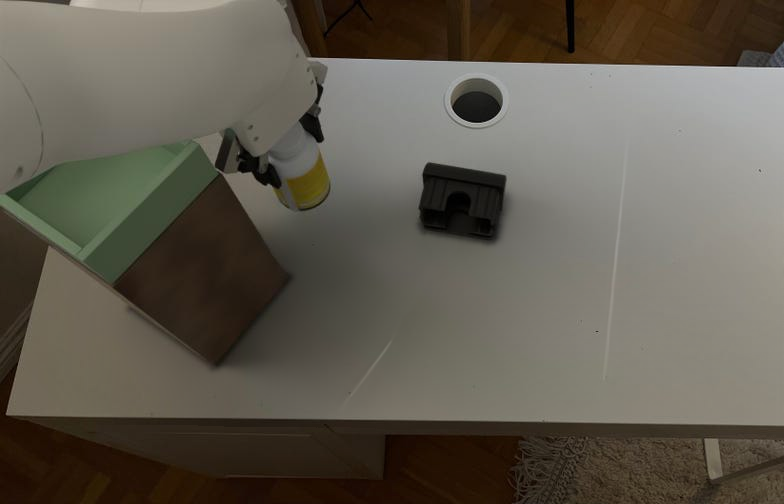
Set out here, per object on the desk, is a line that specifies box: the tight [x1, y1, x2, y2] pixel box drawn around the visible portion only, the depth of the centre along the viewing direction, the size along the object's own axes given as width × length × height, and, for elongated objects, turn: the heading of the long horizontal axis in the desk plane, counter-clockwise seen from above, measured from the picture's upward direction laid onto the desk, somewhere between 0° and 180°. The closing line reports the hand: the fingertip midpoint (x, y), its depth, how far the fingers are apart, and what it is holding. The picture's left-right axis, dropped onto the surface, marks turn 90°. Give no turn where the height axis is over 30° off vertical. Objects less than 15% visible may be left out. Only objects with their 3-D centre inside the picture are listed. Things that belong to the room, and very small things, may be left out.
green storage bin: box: [0, 139, 218, 284], centre depth 54 cm, size 13×13×5 cm
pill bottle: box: [268, 121, 332, 213], centre depth 73 cm, size 6×6×12 cm
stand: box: [2, 170, 289, 367], centre depth 67 cm, size 13×13×24 cm
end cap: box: [417, 161, 508, 241], centre depth 81 cm, size 10×7×7 cm
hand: (291, 157), depth 72 cm, fingers closed on pill bottle, 6 cm apart
